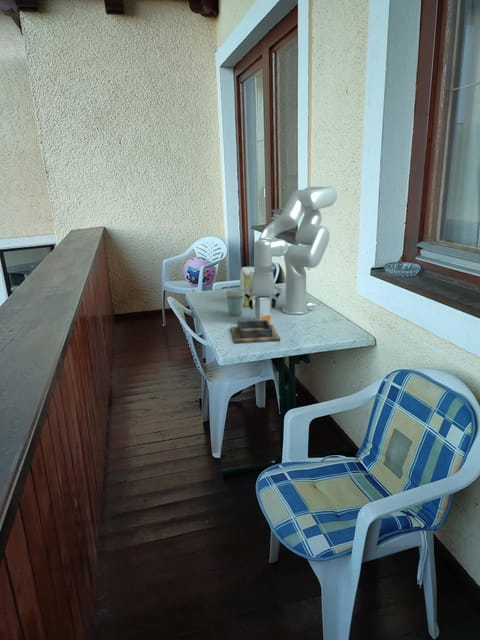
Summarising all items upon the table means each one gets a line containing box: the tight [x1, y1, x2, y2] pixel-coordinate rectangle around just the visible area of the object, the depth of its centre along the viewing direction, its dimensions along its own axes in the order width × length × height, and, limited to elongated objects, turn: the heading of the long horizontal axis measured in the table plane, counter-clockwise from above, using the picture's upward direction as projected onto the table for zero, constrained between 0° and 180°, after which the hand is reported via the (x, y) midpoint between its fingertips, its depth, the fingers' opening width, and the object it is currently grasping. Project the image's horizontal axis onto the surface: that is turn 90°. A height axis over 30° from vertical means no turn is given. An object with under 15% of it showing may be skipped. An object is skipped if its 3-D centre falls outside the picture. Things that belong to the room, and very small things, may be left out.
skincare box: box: [254, 296, 272, 324], centre depth 194 cm, size 6×4×12 cm
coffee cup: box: [225, 288, 244, 318], centre depth 206 cm, size 8×8×12 cm
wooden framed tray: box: [230, 320, 281, 345], centre depth 181 cm, size 18×18×4 cm
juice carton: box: [239, 266, 257, 308], centre depth 221 cm, size 8×9×19 cm
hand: (262, 308), depth 193 cm, fingers open, 9 cm apart
